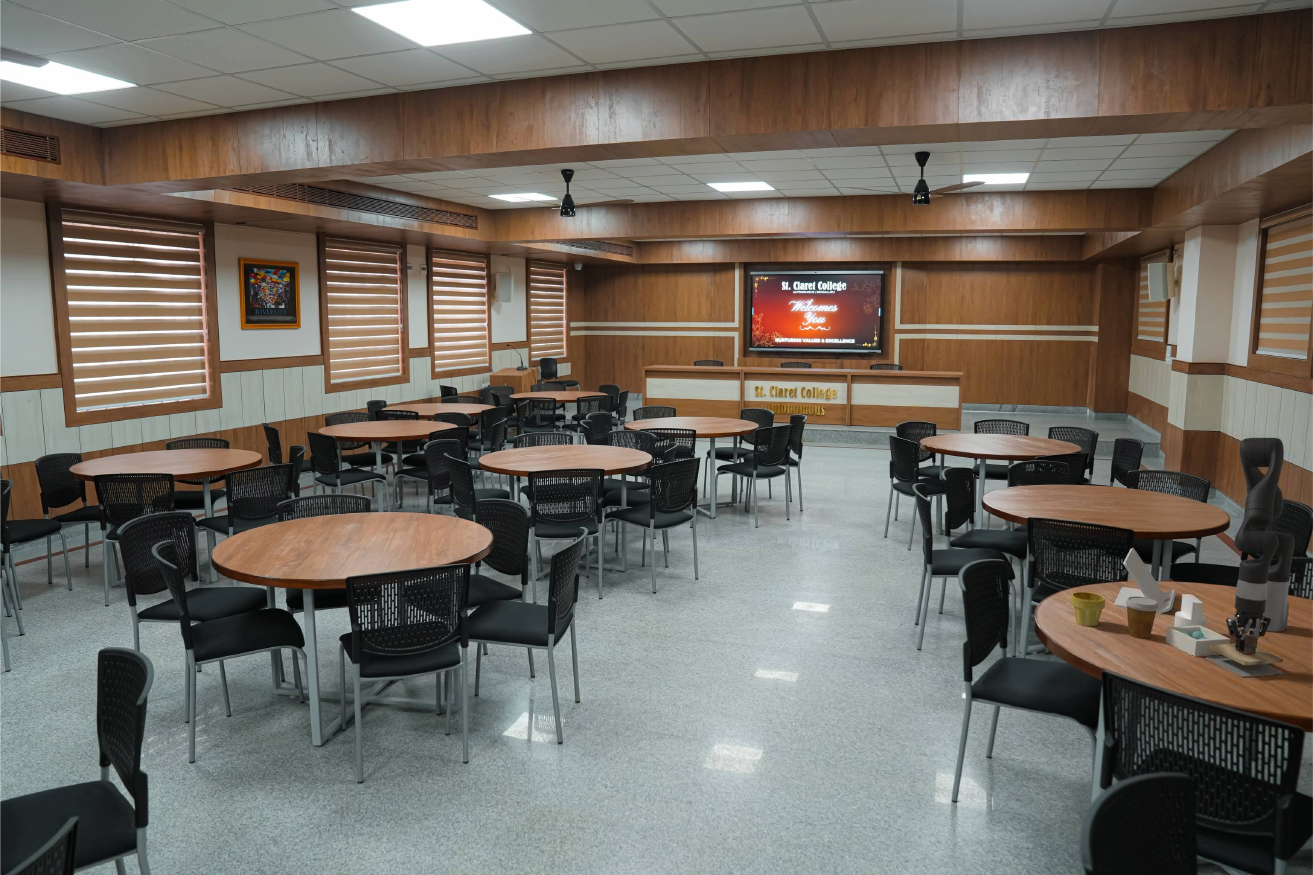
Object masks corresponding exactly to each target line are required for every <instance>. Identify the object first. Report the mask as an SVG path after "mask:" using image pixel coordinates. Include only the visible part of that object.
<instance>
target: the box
mask: <svg viewBox="0 0 1313 875" xmlns="http://www.w3.org/2000/svg"><path fill="white" fill-rule="evenodd" d="M1195 631H1199V632H1201V633H1203V635H1204V638H1207V639H1198V640H1196V639H1194V638H1192V634H1193V632H1195ZM1183 633H1188V634H1190V635H1191V637H1190V636H1188V635H1186V634H1183ZM1230 642H1231V639H1230V638H1228V637H1226V636H1224V635H1223V634H1220V633H1217V632H1215V631H1213V630H1212V629H1209V628H1207V627H1206V628H1205V627H1202V626H1200V625H1196V626H1182V627H1174V626H1172V627H1171V626H1170V627H1166V635H1165V643H1167V644H1168V645H1171V646H1173V647H1175V648H1176V649H1178V650H1181V651H1183V652H1185V653H1186V652H1187V653H1186V654H1189V655H1190V656H1192V655H1193V658H1194V657H1211V656H1219V655H1220V656H1221V655H1222V654H1220V653H1217V652H1215V651H1213V650H1211V649H1209V645H1222V644H1231V643H1230ZM1222 656H1223V655H1222Z"/></svg>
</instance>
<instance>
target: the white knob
mask: <svg viewBox="0 0 1313 875" xmlns="http://www.w3.org/2000/svg"><path fill="white" fill-rule="evenodd" d="M1203 604H1204V602H1203V601H1201V600H1200V599H1198V598H1197V597H1196V596H1194V595H1193V594H1189V593H1188V594H1186V593H1182V595H1181V605H1180V606H1181V608H1180V611H1179V610H1178V611H1176V612H1175V615H1174V625H1173V627H1182V626H1196V625H1200V626H1202V627H1205V628H1207V621H1208V617H1207V616H1205V615H1204V614H1203V608H1204V607H1203V606H1204V605H1203Z"/></svg>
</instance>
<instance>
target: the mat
mask: <svg viewBox="0 0 1313 875" xmlns="http://www.w3.org/2000/svg"><path fill="white" fill-rule="evenodd" d="M1205 659H1206V660H1207V661H1209V662H1211V663H1213V664H1215V665H1217V666H1219V667H1221V668H1223V669H1225V670H1227V669H1228V671H1230V672H1231V671H1232V673H1233V672H1234V673H1233V674H1235V673H1236V674H1235V675H1237V674H1238V676H1239V675H1240V676H1239V677H1241V676H1242V677H1241V678H1252V677H1253V678H1254V677H1264V676H1265V675H1267V676H1275V675H1274V674H1280V675H1285V672H1284V671H1282V670H1279V669H1278V668H1275V667H1273V666H1271V665H1269V664H1255V665H1243V664H1241V663H1238V662H1236V661H1234V660H1232V659H1230V658H1228V657H1226V656H1224V655H1222V656H1221V655H1220V656H1219V655H1218V656H1205Z"/></svg>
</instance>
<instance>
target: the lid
mask: <svg viewBox="0 0 1313 875" xmlns="http://www.w3.org/2000/svg"><path fill="white" fill-rule="evenodd" d="M1240 635H1241V633H1240ZM1244 640H1245V643H1244V651H1242V652H1240V651H1238V650H1236V648H1235V644H1236V643H1229V644H1222V645H1209V649H1211V650H1213V651H1215V652H1217V653H1220V654H1222V656H1226V657H1228V658H1230V659H1232V660H1234V661H1236V662H1238V663H1241V664H1243V665H1255V664H1267V665H1269V664H1279V663H1280V664H1281V663H1284V659H1283V658H1281V657H1279V656H1277V655H1274V654H1273V653H1270V652H1269V651H1265V650H1263V649H1261V648H1259V647H1257V648H1256V644H1257V645H1258V640H1257V638H1256V637H1253V636H1251V635H1249V633H1246V636H1245V639H1244Z"/></svg>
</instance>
